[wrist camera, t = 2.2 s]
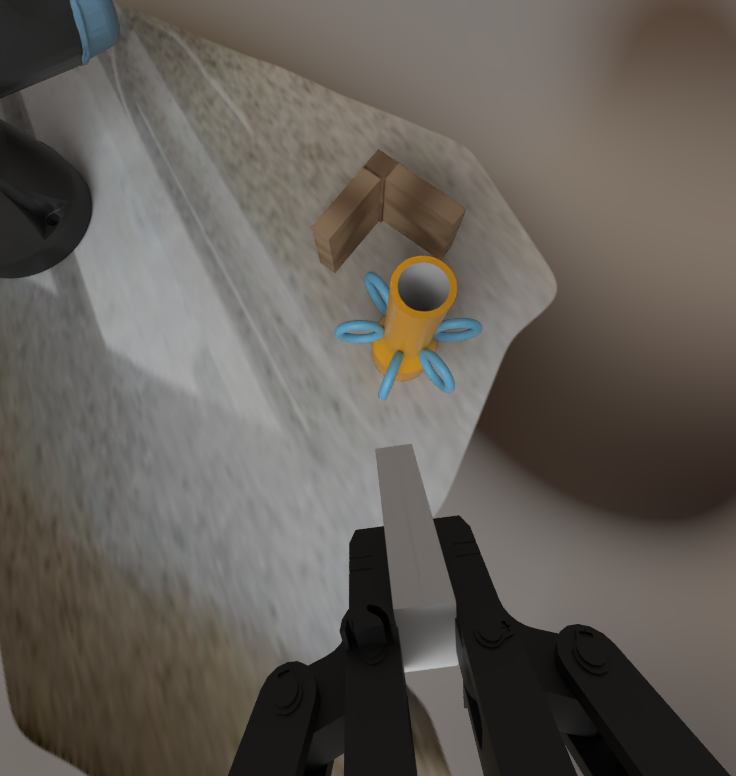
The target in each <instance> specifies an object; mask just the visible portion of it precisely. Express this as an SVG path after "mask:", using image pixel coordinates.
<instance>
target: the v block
mask: <svg viewBox="0 0 736 776" xmlns="http://www.w3.org/2000/svg"><path fill="white" fill-rule="evenodd" d="M465 211H466V208H465V207H463V206H462V205H460V204H459V203H457V202H456V201H454V200H453V199H451V198H450V197H448V196H447V195H445V194H444V193H442V192H441V191H439V190H438V189H436V188H435V187H433V186H432V185H430V184H429V183H427V182H426V181H424V180H423V179H421V178H420V177H418V176H417V175H415V174H414V173H412V172H411V171H409V170H408V169H406V168H405V167H403V166H402V165H400V164H399V163H398V162H397V161H395V160H394V159H392V158H391V157H389V156H388V155H386V154H385V153H383V152H382V151H380V150H379V149H378V150H377V151H376V153H375V154H374V155H373V156H372V157H371V158H370V160H369V161H368V162H367V163H366V164H365V165H364V166H363V168H362V170H361V171H360V172H359V173H358V174H357V175H356V177H355V178H354V179H353V180H352V181H351V182H350V183H349V185H348V186H347V187H346V188H345V189H344V190H343V191H342V193H341V194H340V195H339V196H338V197H337V198H336V200H335V201H334V202H333V203H332V204H331V205H330V206H329V208H328V209H327V210H326V211H325V212H324V213H323V214H322V216H321V217H320V218H319V219H318V220H317V221H316V223H315V224H314V225H313V226H312V227H311V229H312V232H313V236H314V240H315V244H316V248H317V251H318V255H319V259H320V262H321V263H322V264H323V265H325V266H326V267H328V268H329V269H330V270H332V271H333V272H336V271H337V270H338V269H339V268H340V266H341V265H342V264H343V263H344V262H345V260H346V259H347V258H348V257H349V256H350V254H351V253H352V252H353V251H354V250H355V248H356V247H357V246H358V245H359V244H360V242H361V241H362V240H363V239H364V238H365V236H366V235H367V234H368V233H369V232H370V231H371V229H372V228H373V227H374V226H375V225H376V223H377V222H378V221H379V222H382V221H385V222H386V223H388V224H389V225H390V226H392V227H393V228H395V229H396V230H398V231H399V232H401V233H402V234H403V235H405V236H406V237H408V238H409V239H411V240H412V241H414V242H415V243H416V244H418V245H419V246H421V247H422V248H424V249H425V250H427V251H428V252H429V253H431V254H432V255H434V256H435V257H437V258H438V259H441V258H442V257H443V256H444V254H445V253H446V252H447V250H448V249H449V248H450V247H451V245H452V242H453V240H454V237H455V235H456V233H457V230H458V228H459V225H460V223H461V221H462V218H463V216H464V213H465Z"/></svg>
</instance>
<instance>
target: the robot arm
mask: <svg viewBox="0 0 736 776" xmlns="http://www.w3.org/2000/svg"><path fill="white" fill-rule="evenodd" d="M119 32H120V26H119V20H118V16H117V12H116V10H115V7H114V4H113V2H112V0H0V98H2V97H5V96H7V95H10V94H12V93H14V92H17V91H19V90H22V89H24V88H27V87H29V86H32V85H34V84H36V83H39V82H41V81H44V80H46V79H49V78H51V77H53V76H56V75H58V74H61V73H63V72H66V71H68V70H70V69H73V68H75V67H78V66H83V65H86V64H87V63H88V62H89V60H90V59H91V58H92V57H94V56H96V55H98V54H99V53H101V52H103V51H105V50H107V49H108V48H110V47H112V46H113V45H114V44H115V43H116V42H117V39H118V37H119ZM90 213H91V198H90V193H89V189H88V187H87V184H86V182H85V180H84V179H83V177H82V176H81V174H80V173H79V172H78V171H77V170H76V169H75V168H74V167H73V166H72V165H71V164H70V163H69V162H68V161H67V160H65V159H64V158H63V157H62V156H61V155H60V154H59V153H58V152H56V151H55V150H54V149H52V148H51V147H49V146H48V145H46V144H44V143H42V142H40V141H38V140H36V139H34V138H33V137H31V136H29V135H27V134H26V133H24V132H22V131H20V130H19V129H17V128H15V127H13V126H12V125H10V124H8V123H6V122H4V121H2V120H1V119H0V278H21V277H26V276H30V275H34V274H37V273H40V272H42V271H44V270H47V269H49V268H50V267H52V266H54V265H55V264H57V263H58V262H60V261H61V260H62V259H64V258H65V257H66V256H67V255H68V254H69V253H70V252H71V251H72V250H73V249H74V248H75V247H76V245H77V244H78V243H79V241H80V240H81V238H82V236H83V235H84V233H85V230H86V228H87V225H88V222H89V219H90ZM375 450H376V459H377V468H378V477H379V486H380V495H381V504H382V513H383V522H384V526H382V527H375V528H367V529H359V530H355V532H354V534H353V537H352V539H351V541H350V543H349V560H350V561H349V572H350V574H349V609H348V611H347V612H346V614H345V616H344V617H343V619H342V622H341V627H340V634H341V638H342V642H341V644H340V645H339V646H338V647H337V648H336V649H335V650H334V651H333V652H332V653H330V654H329V655H327V656H326V657H324V658H322V659H320V660H318V661H316V662H314V663H312V664H310V665H309V666H307V665H305V664H303V663H301V662H298V661H295V662H287V663H285V664H283V665H281V666H279V667H277V668H276V669H275V670H274V671H273V672H272V673H271V674H270V675H269V676H268V677H267V679H266V681H265V683H264V685H263V686H262V688H261V690H260V693H259V695H258V698H257V701H256V703H255V706H254V709H253V711H252V714H251V716H250V719H249V722H248V724H247V727H246V730H245V732H244V735H243V737H242V740H241V743H240V745H239V748H238V751H237V753H236V756H235V758H234V761H233V764H232V766H231V769H230V771H229V774H228V776H331V773H332V768H333V763H334V759H335V758H337V757H339V756H340V755H342V754H343V753H344V776H418V775H417V767H416V759H415V751H414V743H413V735H412V727H411V719H410V711H409V703H408V696H407V689H406V681H405V673H404V672H410V671H417V670H426V669H434V668H441V667H449V666H457V665H458V661H459V665H460V669H461V673H462V677H463V694H464V696H463V698H464V708H468V712H469V716H470V720H471V724H472V729H473V733H474V737H475V741H476V745H477V749H478V753H479V758H480V762H481V766H482V770H483V774H484V776H577V773H576V771H575V768H574V766H573V764H572V761H571V759H570V756H569V754H568V751H567V749H568V750H569V752H570V754H571V755H572V757H573V758H574V760H575V762H576V763H577V765H578V767H579V768H580V770H581V772H582V773H583V775H584V776H730V775H729V773H728V772H727V771H726V770H725V769H724V768H723V767H722V765H721V764H720V763H719V762H718V761H717V760H716V759H715V758H714V756H713V755H712V754H711V753H710V752H709V751H708V750H707V748H706V747H705V746H704V745H703V744H702V743H701V742H700V740H699V739H698V738H697V737H696V736H695V735H694V734H693V733H692V731H691V730H690V729H689V728H688V727H687V726H686V725H685V723H684V722H683V721H682V720H681V719H680V718H679V717H678V715H677V714H676V713H675V712H674V711H673V710H672V709H671V708H670V706H669V705H668V704H667V703H666V702H665V701H664V699H663V698H662V697H661V696H660V695H659V694H658V693H657V692H656V691H655V689H654V688H653V687H652V686H651V685H650V684H649V682H648V681H647V680H646V679H645V678H644V677H643V676H642V674H641V673H640V672H639V671H638V670H637V669H636V668H635V667H634V665H633V664H632V663H631V662H630V661H629V660H628V659H627V657H626V656H625V655H624V654H623V653H622V652H621V651H620V649H619V648H618V647H617V646H616V645H615V644H614V643H613V642H612V641H611V640H610V639H609V638H607V637H606V636H605V635H604V634H603V633H601V632H599V631H597V630H595V629H594V628H592V627H589V626H585V625H580V624H575V625H569V626H566V627H565V628H564V629H563V630H561V631H560V633H559V634H558V633H553V632H549V631H544V630H539V629H535V628H532V627H529V626H526V625H524V624H522V623H520V622H518V621H517V620H515V619H514V618H513V617H512V616H511V615H509V614H508V612H507V611H506V610H505V609H504V608H503V606H502V604H501V602H500V600H499V598H498V595H497V593H496V590H495V588H494V586H493V583H492V581H491V578H490V576H489V573H488V570H487V568H486V566H485V563H484V561H483V558H482V556H481V553H480V550H479V548H478V545H477V544H476V541H475V538H474V535H473V533H472V530H471V528H470V526H469V525H468V524H467V523H466V522H465V521H464V520H463V519H462V518H461V517H460V516H459V515H458V516H451V517H443V518H435V519H433V518H432V515H431V511H430V507H429V504H428V500H427V497H426V493H425V490H424V486H423V482H422V479H421V475H420V472H419V468H418V465H417V461H416V458H415V454H414V450H413V447H412V444H408V445H401V446H393V447H386V448H378V449H375ZM565 745H566V747H567V749H566V747H565Z"/></svg>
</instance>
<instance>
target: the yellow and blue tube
mask: <svg viewBox="0 0 736 776" xmlns="http://www.w3.org/2000/svg"><path fill="white" fill-rule="evenodd" d="M364 281H365V285H366V288H367V291H368V293H369V295H370V297H371V298H372V300H373V302H374V303H375V305H376V306H377V307H378V309H379V310H380V311H381V312H382V313H383V314H384V315H385V317H383V318H382V319H381V320H380V321H379V322H378V323H377V322H373V321H367V320H354V321H348V322H344V323H342V324H340V325H338V326H337V327H336V329H335V336H336V337H337V338H338V339H340V340H342V341H345V342H350V343H369V342H372V359H373V362H374V364H375V366H376V368H377V369H378V370H379V371H380V372H381V373H382V374H383V375H384V376H385V377H384V379H383V382H382V384H381V387H380V390H379V393H378V397H379V399H381V400H385V399H386V398H387V396H388V394H389V391H390V389H391V387H392V384H393V382H394V380H397V381H406V380H410V379H413V378H415V377H417V376H418V375H420V374H421V373H422V372H423V371H425V373H426V374H427V376H428V377H429V378H430V380H431V381H432V382H433V383H434V384H435V385H436V386H437V387H438V388H439V389H440V390H441V391H443V392H445V393H450V392H452V391H453V390H454V388H455V382H454V379H453V376H452V374H451V372H450V370H449V369H448V367H447V366H446V364H445V363H444V362H443V360H442V359H441V358H440V357H439V356H438V355H437V354H436V350H437V340H440V341H460V340H465V339H469V338H472V337H474V336H476V335H478V334H479V333H480V332H481V330H482V325H481V323H480V322H478V321H477V320H474V319H469V318H455V319H448V320H444V321H443V319H444V318H445V316H446V314H447V313H448V311H449V309H450V308H451V306H452V304H453V303H454V301H455V298H456V295H457V281H456V278H455V275H454V273H453V272H452V270H451V269H450V268H449V266H448V265H446V264H445V263H444V262H443V261H441V260H439V259H437V258H434V257H431V256H415V257H412V258H409V259H407V260H405V261H403V262H402V263H401V264H400V265H399V266H398V267H397V268H396V269H395V271H394V273H393V275H392V278H391V282H390V289H389V288H388V287H387V285H386V284H385V282H384V281H383V280H382V279H381V278H380V277H379V276H378V275H377V274H375V273H373V272H368V273H367V274H366V275H365V278H364ZM376 288H377V289H378V291H379V292H380V294H381V295H382V297H383V299H384V301H385V302H384V301H383V300H382V298H381V297H380V295H379V293H378V292H377V290H376ZM385 303H386V304H385ZM454 328H469V329H468V330H465V331H461V332H452V333H447V332H442V331H444V330H448V329H454ZM354 330H368V331H373V333H369V334H350V333H346V332H348V331H354ZM430 362H431V363H432V364H433V365H434V366H435V368H436V369H437V370H438V372H439V373H440V375H441V377H442V379H443V380H442V379H441V378H440V377H439V375H438V374H437V373H436V371H435V370H434V369H433V367H432V365H431V363H430Z"/></svg>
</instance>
